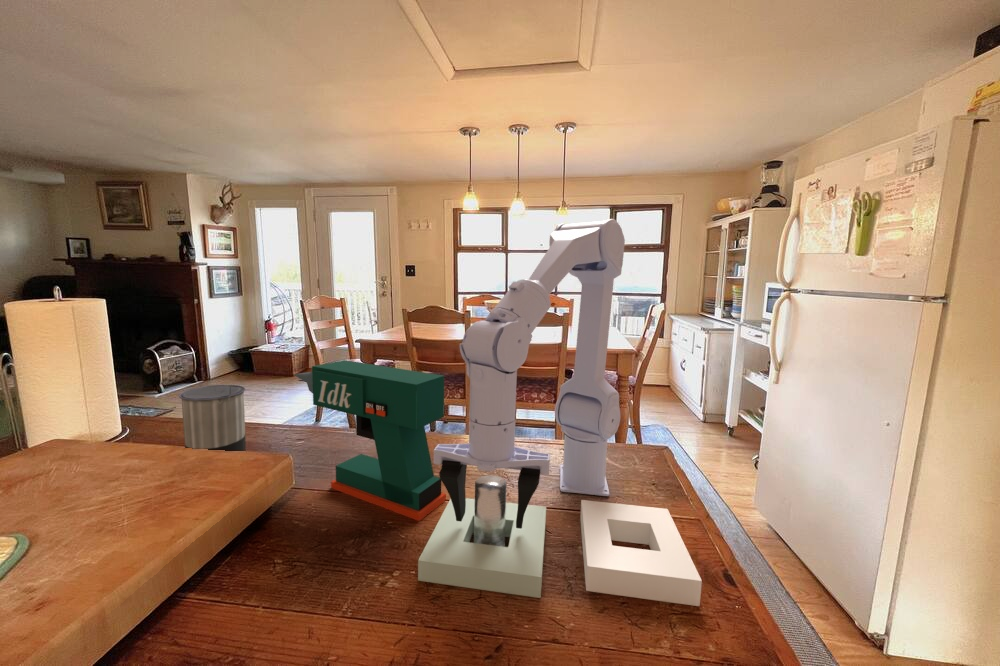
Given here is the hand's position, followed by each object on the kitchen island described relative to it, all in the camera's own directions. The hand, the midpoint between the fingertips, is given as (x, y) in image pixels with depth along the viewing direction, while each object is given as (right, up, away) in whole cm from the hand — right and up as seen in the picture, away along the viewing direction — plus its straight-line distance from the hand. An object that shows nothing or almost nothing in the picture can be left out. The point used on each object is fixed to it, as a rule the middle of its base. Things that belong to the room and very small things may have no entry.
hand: (489, 520), depth 51 cm
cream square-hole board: (+18, -4, 0) cm, 19 cm away
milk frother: (-51, -1, +16) cm, 54 cm away
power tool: (-23, -2, +16) cm, 28 cm away
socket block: (0, -4, +1) cm, 4 cm away
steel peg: (0, -4, +1) cm, 4 cm away
